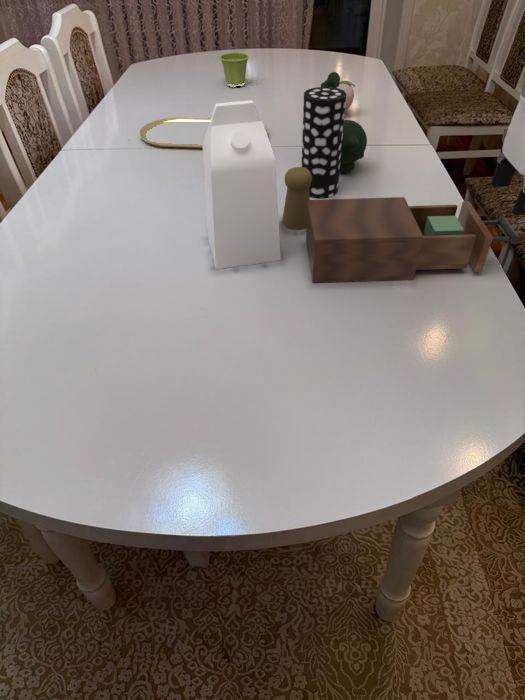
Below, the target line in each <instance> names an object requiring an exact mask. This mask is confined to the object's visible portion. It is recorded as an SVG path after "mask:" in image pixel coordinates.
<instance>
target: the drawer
mask: <svg viewBox="0 0 525 700" xmlns="http://www.w3.org/2000/svg"><path fill="white" fill-rule="evenodd" d="M408 206H409V208H410V210H411V212H412V214H413V216H414V218H415V220H416V222H417V224H418V227H419V229H420V231H421V233H422V235H423V234H424V229H425V225H426V221H427V217H428V216H456V214H457V210H458V205H457V204H433V205H432V204H431V205H429V204H428V205H408ZM457 219H458V221H459V223H460V224H461V226H462V227H463V229H464V232H463V235H436V236H423V241H422V245H421V249H420V253H419V258H418V262H417V266H416V271H417V270H418V271H419V270H422V271H423V270H424V271H425V270H451V269H452V270H455V269H467V268H468V264H470V266H471V268H472V270H473V271H474V273H476V272H478V273H479V272H480V273H481V272H482V271H483V269H484V266H485V263H486V261H487V257H488V254H489V251H490V250H491V249H490V248H491V245H492V243H493V242H495V243H496V242H509V244H511V245H515V244H518V242H520V240H521V238H520V236H519V234H518V233H517V232H516V231H515V229H514V228H513V227H512V225H511V224H510V222H509V221H508V220H507V218H505V217H504V216H501V217H499V218H497V220H496V219H495V220H482V218H481V217H480V215H479V214H478V212H477V210H476V209H475V208H474V206H473V205H472V203H471V201H469V200H465V201H463V200H462V202H461V206H460V210H459V214H458V217H457ZM487 226H498V227H499V229H500V230H501V231H502V233H503V235H504V236H493V234H492V233H491V231H490V230H489V229H488V227H487Z"/></svg>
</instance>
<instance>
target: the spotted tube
mask: <svg viewBox="0 0 525 700" xmlns="http://www.w3.org/2000/svg"><path fill="white" fill-rule="evenodd" d="M345 104H346V92H345V91H344V90H341V89H338V88H333V87H321V86H317V87H311V88H308V89H307V90H305V91H304V92H303V105H302V106H303V107H302V137H301V139H302V140H301V163H300V164H301V166H300V167H303V168H306V169H308V170H309V171H310V173H311V175H312V181H311V185H310V186H309V197H310V198H312V199H327V198H328V199H329V198H331V197H333V196H335V195H336V194H337V193H338V191H339V183H340V182H339V181H340V173H341V172H340V160H341V149H342V138H343V126H344V120H345V115H346V114H345V112H346V111H345Z"/></svg>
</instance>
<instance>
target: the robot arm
mask: <svg viewBox="0 0 525 700" xmlns="http://www.w3.org/2000/svg"><path fill="white" fill-rule="evenodd" d="M499 148H500V154H499V155H498V156H497V163H496V166H495V170H494V173H493V176H492V178H491V182H490V185H491V187H493V188H495V187H496V188H497V187H502V188H503V187H505V188H506V187H509V186H511V183H512V180H513V177H514V174H515V173H516V171H517V172H518V173H519V174H520V175H521V176H523V180H522V181H523V183H522V185H523V187H522V190H519V192H518V194H517V198H516V200H515V203H514V205H513V208H512V210H511V213H512V215H513V216H525V82H523V85H522V89H521V92H520V96H519V102H518V103H517V105H516V108H515V110H514V112H513V115H512V117H511V120H510V123H509V126H508V128H504V129H503V132H502V142H501V144H500V145H499Z"/></svg>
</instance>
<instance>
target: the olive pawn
mask: <svg viewBox="0 0 525 700" xmlns="http://www.w3.org/2000/svg"><path fill="white" fill-rule="evenodd" d="M311 181H312V175H311V173H310V171H309V170H308V169H306V168H303V167H301V166H295V167H291V168H289V169H288V170H287V171H286V172H285V175H284V184H285V186H286V187H287V188H286V195H285V201H284V208H283V213H282V220H281V223H282V225H283V227H285V228H286V229H289V230H292V231H301V230H305V229H306V226H307V205H308V204H307V203H308V200H311V199H310V198H311V197H309V186H310V185H311Z"/></svg>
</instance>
